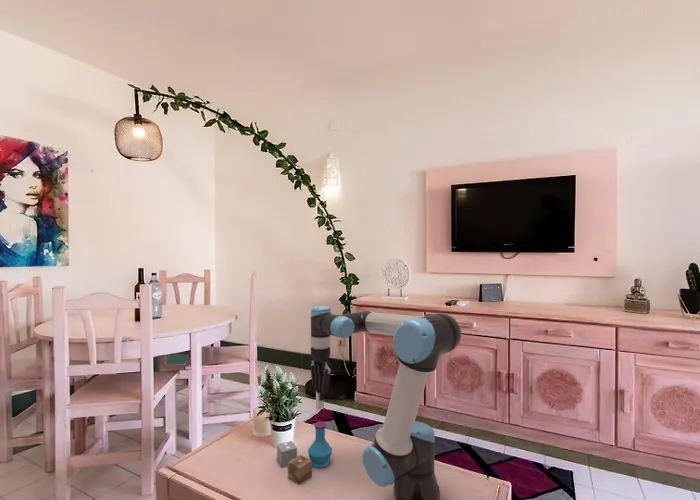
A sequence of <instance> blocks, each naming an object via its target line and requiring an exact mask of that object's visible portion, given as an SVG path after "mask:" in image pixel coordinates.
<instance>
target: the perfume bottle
mask: <svg viewBox="0 0 700 500" xmlns="http://www.w3.org/2000/svg"><path fill="white" fill-rule="evenodd" d="M313 426H314V429H315V439H314V440H313V442H312V444H310V446H309V448H308V449H307V453H308V458H309V459H310V460H312V467H315V468H324V467H326V466H328V465H329V461H330V459H331V456H332V453H333V448H332V447H331V445H330V443H329V442H328V441H327V440H326V435H325V434H326V431H325V430H326V427H327V423H326V422H325V421H321V420H320V421H317V422H315V423H314V425H313Z"/></svg>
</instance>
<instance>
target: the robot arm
mask: <svg viewBox="0 0 700 500" xmlns="http://www.w3.org/2000/svg"><path fill="white" fill-rule="evenodd" d="M357 333H371V334H372V333H373V334H376V335H377V334H379V335H385V336H392V337H393V338H392V345H393V346H394V350H393V351H395V354H396V359H397V361H398V363H399V366H398V370H397V373H396V377H395V380H394V385H393V388H392V391H391V396H390V400H389V402H388V403H389V404H388V408H387V411H386V415H385V418H384V422H383V426H381V427H379V428H378V430H377V431H376V433H375V435H374V439H373V443H372V444H371V445H367V447H366V448H364V450H363V453H362V461H363V463H362V464H363V466H364V468H365V471H366V473H367V475H368V477H369V478H370V479H371V480H372V481H373V483H374V484H375V485H377V486H379V487H388V486H389V485H393V495H394V497H395V499H396V500H440V498H441V495H440V492H441V491H440V486H439V484H438V480H437V477H436V473H435V460H436V459H435V455H436V454H435V452H436V451H435V447H436V446H435V443H436V439H435V432H434V429H433V428H432V427H431V426H430V425H429V424H427V423H425V422H421V421H417V420H416V419H417V415H418V412H419V408H420V405H421V401H422V398H423V394H424V391H425V387H426V385H427V380H428V377H429V374H431V373H434V372H435V371H436V370H437V366H438V363H439V359H440V356H441V355H444V354H447V353H451V352H452V351H454V350H455V349H456V348H458V346H459V345H460V343H461V339H462V329H461V326H460V324H459V322H458V321H457V320H456V319H455V318H454V317H453V316H451V315H449V314H445V313H435V314H434V313H426V314H424V315H422V316H420V315H411V314H410V315H407V314H397V313H383V312H375V311H373V310H363V311H357V312H352V313H351V312H350V313H343V314H335V313H334V314H333V313H332V311H331V307H330V306H328V305H316V306H313V307H312V308H311V312H310V357H311V358H312V360H310V361H309V362H308V364H309V367H310V375H311V386H312V388H313V389H314V390H315V409H316V410H321V409H324V408H325V393H326V392H328V391H329V387H330V381H331V374H332V372H333V368H332V367H331V368H330V367H329V362H328V359H329V358H330V357H331V336H333V337H336V338H338V339H348V338H349V337H351V336H352V335H353V334H357Z"/></svg>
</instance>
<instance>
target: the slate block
mask: <svg viewBox="0 0 700 500" xmlns="http://www.w3.org/2000/svg"><path fill="white" fill-rule="evenodd" d="M297 456H298V447H297V446H296V444H295V443H294V442H293V441H292V440H290V441H286V442H281V443H277V444H276V460H277V463H278V465H279V466H280V468H285V467H288V462H289V461H291V460H292V459H294V458H296V457H297Z"/></svg>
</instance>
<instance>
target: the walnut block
mask: <svg viewBox="0 0 700 500" xmlns="http://www.w3.org/2000/svg"><path fill="white" fill-rule="evenodd" d="M312 477H313V465H312V460H310V458H309V457H308V458H307V457H305V456H303V455H301V454H299V455H297V457H296V458H294V459H292V460H291V461H289V462H288V466H287V479H288V480H289V481H292V482H294V483H295V484H297V485H299V486H301V485H302V484H304V483H305V482H307V481H309V480H310V479H311V478H312Z"/></svg>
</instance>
